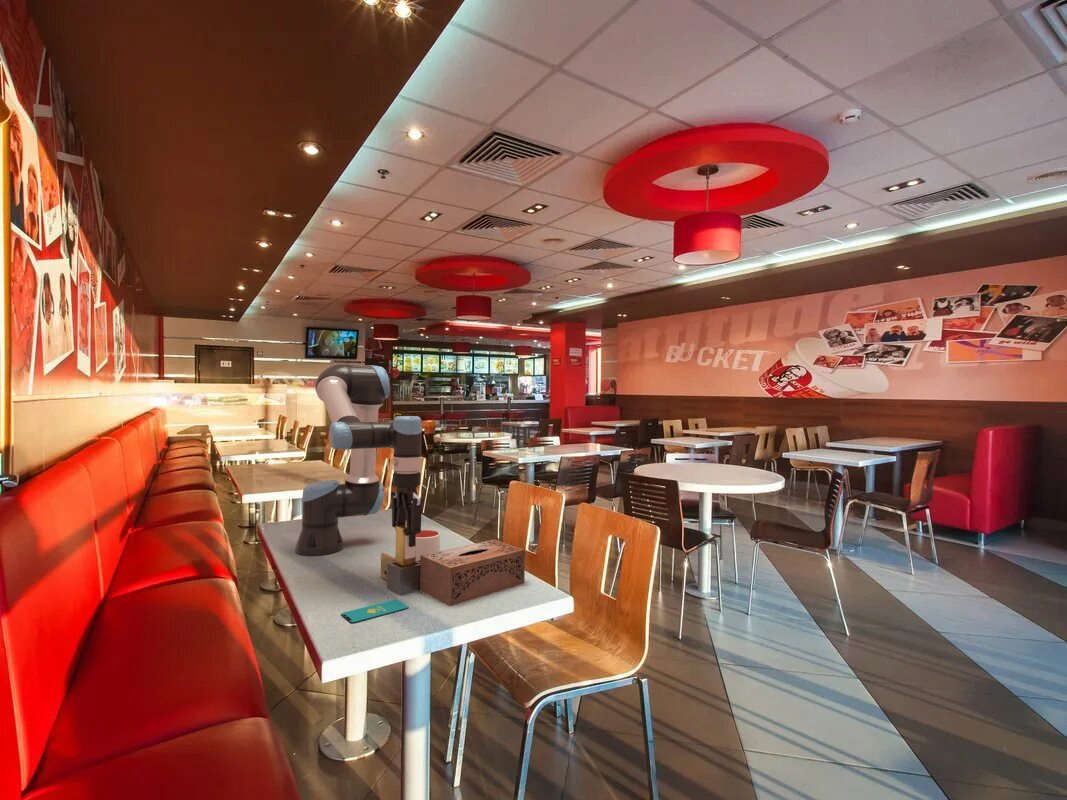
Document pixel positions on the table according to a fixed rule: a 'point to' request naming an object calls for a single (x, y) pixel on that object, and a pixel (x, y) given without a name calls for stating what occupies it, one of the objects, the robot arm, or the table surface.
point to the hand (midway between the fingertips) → (405, 555)
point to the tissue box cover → (471, 571)
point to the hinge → (400, 575)
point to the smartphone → (373, 611)
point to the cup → (427, 542)
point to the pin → (402, 548)
